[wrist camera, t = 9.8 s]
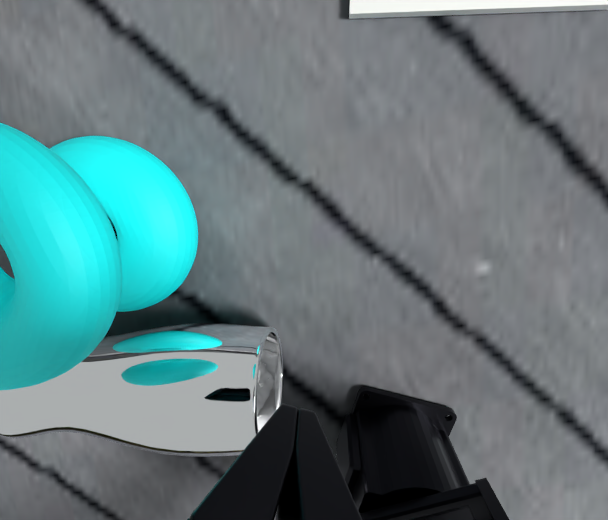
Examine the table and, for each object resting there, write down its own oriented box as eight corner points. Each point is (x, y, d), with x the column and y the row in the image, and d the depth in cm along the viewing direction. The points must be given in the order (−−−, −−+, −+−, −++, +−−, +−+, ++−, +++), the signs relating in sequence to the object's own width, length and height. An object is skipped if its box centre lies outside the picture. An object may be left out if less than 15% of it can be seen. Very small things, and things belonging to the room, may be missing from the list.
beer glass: (95, 377, 24) (288, 381, 22) (11, 473, 18) (268, 490, 16) (55, 302, 21) (275, 298, 19) (-64, 387, 15) (244, 395, 13)
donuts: (-27, 44, 8) (132, 378, 10) (168, 115, 18) (228, 279, 20) (-295, 160, 9) (-102, 429, 12) (21, 167, 19) (92, 314, 21)
